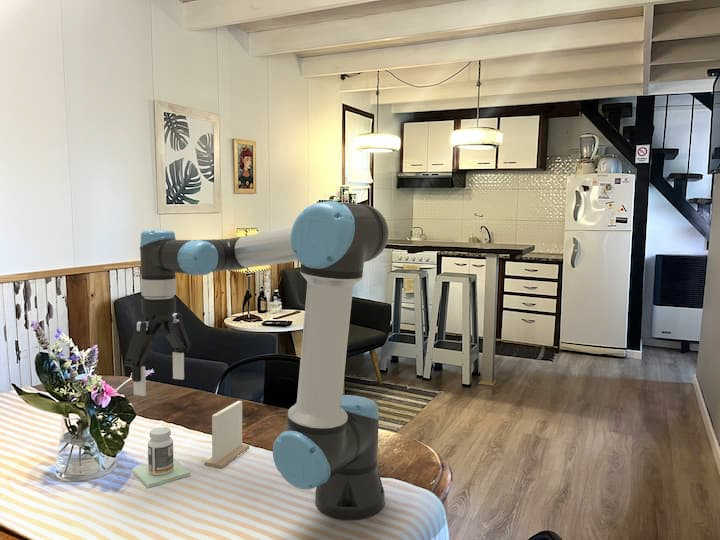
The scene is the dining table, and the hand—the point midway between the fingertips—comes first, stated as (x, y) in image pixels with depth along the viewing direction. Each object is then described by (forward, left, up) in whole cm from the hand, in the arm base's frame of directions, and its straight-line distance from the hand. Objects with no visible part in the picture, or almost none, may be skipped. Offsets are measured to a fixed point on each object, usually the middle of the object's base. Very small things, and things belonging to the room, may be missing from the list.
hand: (160, 386), depth 131 cm
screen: (-1, -17, -21) cm, 27 cm away
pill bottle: (0, 0, -21) cm, 21 cm away
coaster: (0, 0, -21) cm, 21 cm away
